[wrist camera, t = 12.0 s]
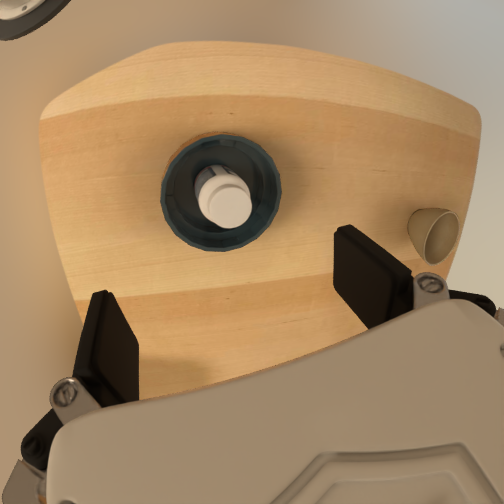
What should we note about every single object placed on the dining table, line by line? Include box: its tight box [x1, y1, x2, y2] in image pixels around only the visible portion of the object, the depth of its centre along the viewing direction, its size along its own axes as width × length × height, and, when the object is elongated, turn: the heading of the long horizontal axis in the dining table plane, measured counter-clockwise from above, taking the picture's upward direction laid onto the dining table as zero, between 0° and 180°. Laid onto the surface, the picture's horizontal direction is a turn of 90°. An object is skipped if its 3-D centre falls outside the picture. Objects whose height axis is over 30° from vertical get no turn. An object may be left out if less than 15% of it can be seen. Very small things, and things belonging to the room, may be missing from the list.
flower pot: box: [408, 208, 460, 266], centre depth 43 cm, size 10×10×7 cm
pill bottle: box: [194, 165, 252, 228], centre depth 30 cm, size 5×5×9 cm
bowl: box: [160, 132, 282, 252], centre depth 32 cm, size 13×13×5 cm
